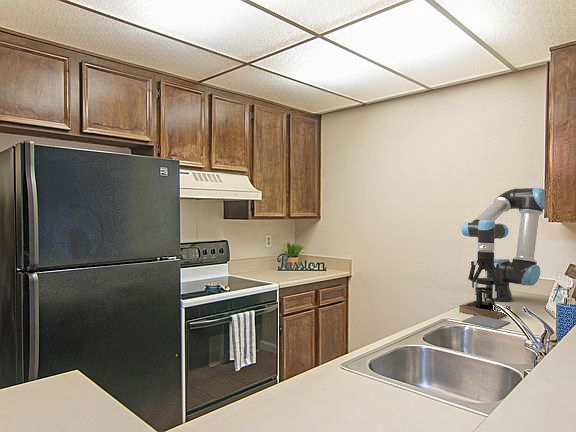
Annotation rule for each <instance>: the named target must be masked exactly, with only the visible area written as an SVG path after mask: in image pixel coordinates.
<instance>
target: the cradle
mask: <svg viewBox="0 0 576 432" xmlns="http://www.w3.org/2000/svg"><path fill="white" fill-rule="evenodd" d="M482 304H487V305H488V304H489V303H483V302H482ZM475 306H476V299H475V300H472V301H468V302H466V303H463V304H459V313H461V312H462V314H466V315H471V316H476V315H479V316H484V317H489V318H494V319H500V318H502V317H505V316H506V315H505V314H504V313H502V312H498V311H490V310H484V309H479V308H475ZM492 306H493V303H492ZM505 306H506V307H508V308H509V309H510V310H511V306H509V305H505Z"/></svg>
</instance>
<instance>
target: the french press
mask: <svg viewBox="0 0 576 432" xmlns="http://www.w3.org/2000/svg"><path fill="white" fill-rule="evenodd" d="M486 269H487V268H486ZM484 272H485V275H484V276H485V277H478V278H476V282H477V283H478V285H482V286H483V285H484V286H485V287H484V286H483V287H481V286H478V288H476V291H477V295H475V300H476V306H475V308H479V309H484V310H490V311H494V310H493V306H492V303H493V305H494V304H496V301H495V298H493V300H492V293H493V288H486V285H494V282H493V279H490V278H487V270H485V269H484ZM486 290H489V291H486ZM483 293H485V298H483ZM486 293H489V299H486ZM482 302H483V303H489V304H488V305H487V304H482Z"/></svg>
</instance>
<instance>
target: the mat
mask: <svg viewBox="0 0 576 432" xmlns="http://www.w3.org/2000/svg"><path fill="white" fill-rule="evenodd" d="M461 322H462V323H466V324H471V325H476V326H479V327H484V328H489V329H493V330H498V329H500V328H502V327H505V326H507V325H509V324H511V322H510V321H507V320H503V319H500V318H498V319H494V318H489V317H484V316H479V315H476V316H475V315H472V316H471V317H469V318H466V319H464V320H462V321H461Z"/></svg>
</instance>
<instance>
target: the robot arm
mask: <svg viewBox="0 0 576 432" xmlns="http://www.w3.org/2000/svg"><path fill="white" fill-rule="evenodd" d="M545 191H546V190H545V189H544V188H541V187H539V188H538V187H531V188H528V187H527V188H525V187H524V188H523V187H522V188H512V189H509V190H506V191H505V192H503V193H501V194H499V195H497V197H496V198H494V201H493V203H492V204H490V205H489V206H488V207H487V208H486V209H485V210H483V211H482V212H481V213H480V214H479V215H478V216H477V217H476V218H474V220H472V221H471V222H464V223H463V224H462V225H461V228H460V229H461V234H462V236H464V237H469V238H477V257H476V258H477V259H476V260H472V261H470V265H471V266H470V269H469V270H470V271H469V275H468V280H469V281H471V285H472V286H471V288H472V289H473V296H476V295H477V291H476V288H478V287H479V286H478V285H479V284H478V283H477V280H476V278H480V275H481V272H482V271H485V270H487V271H486V278H490V279H493V282H494V285H486V288H493V293H492V300H493V298H495V302H500V303H501V302H504V303H507V302H512V301H513V295H512V291H511V287H510V284H516V285H520V286H530V287H531V286H534V285H536V284H537V282H538V281H539V279H540V276H541V268H540V266H539V265H538V264H537V263H538V262H537V260H536V259H535V251H536V244H537V237H538V236H537V235H538V228H539V218H540V216H541V215H542V214H543V213H544V210H546V209H545ZM515 209H517V210H518V212H519V213H520V222H519V231H518V237H517V245H516V246H517V247H516V254H515V256H514V257H513V258H512V261H511V260H510V259H509V258H497V259H496V258H495V252H494V251H495V239H496V240H497V239H500V240H501V239H504V238H507V236H508V235H509V233H510V232H509V228H508V227H507V225H506V224H504V223H496V222H495V221H496V220H498V218H499V217H501V215H502V214H504V213H506V212H509V211H510V210H515ZM477 265H478V267H477ZM476 267H477V269H476ZM486 268H487V269H486ZM475 270H476V272H475ZM486 291H489V290H486ZM482 298H485V293H482ZM486 299H489V293H486Z"/></svg>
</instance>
